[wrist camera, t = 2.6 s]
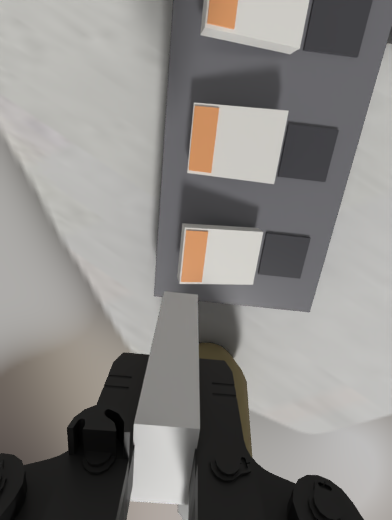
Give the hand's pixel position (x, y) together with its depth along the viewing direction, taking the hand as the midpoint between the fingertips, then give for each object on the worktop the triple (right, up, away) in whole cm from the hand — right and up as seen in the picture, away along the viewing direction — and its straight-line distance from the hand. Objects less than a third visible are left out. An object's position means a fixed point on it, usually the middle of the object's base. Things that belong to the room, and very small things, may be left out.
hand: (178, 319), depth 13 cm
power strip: (+9, +12, +12) cm, 19 cm away
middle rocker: (+4, +11, +6) cm, 13 cm away
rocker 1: (+4, +18, +4) cm, 19 cm away
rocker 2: (+3, +3, +9) cm, 10 cm away
